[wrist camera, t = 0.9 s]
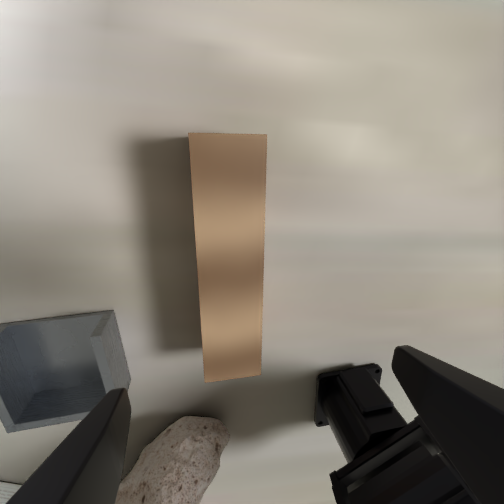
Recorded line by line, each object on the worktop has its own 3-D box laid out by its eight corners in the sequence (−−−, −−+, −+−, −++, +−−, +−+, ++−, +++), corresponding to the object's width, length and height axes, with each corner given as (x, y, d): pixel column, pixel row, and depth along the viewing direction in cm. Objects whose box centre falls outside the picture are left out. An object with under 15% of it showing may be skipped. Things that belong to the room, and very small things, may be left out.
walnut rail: (250, 339, 23) (260, 374, 20) (203, 345, 23) (204, 382, 19) (252, 138, 18) (266, 134, 14) (190, 136, 17) (188, 132, 13)
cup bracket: (130, 379, 22) (121, 412, 19) (32, 395, 21) (7, 433, 18) (113, 310, 20) (100, 336, 17) (1, 323, 19) (-33, 353, 16)
